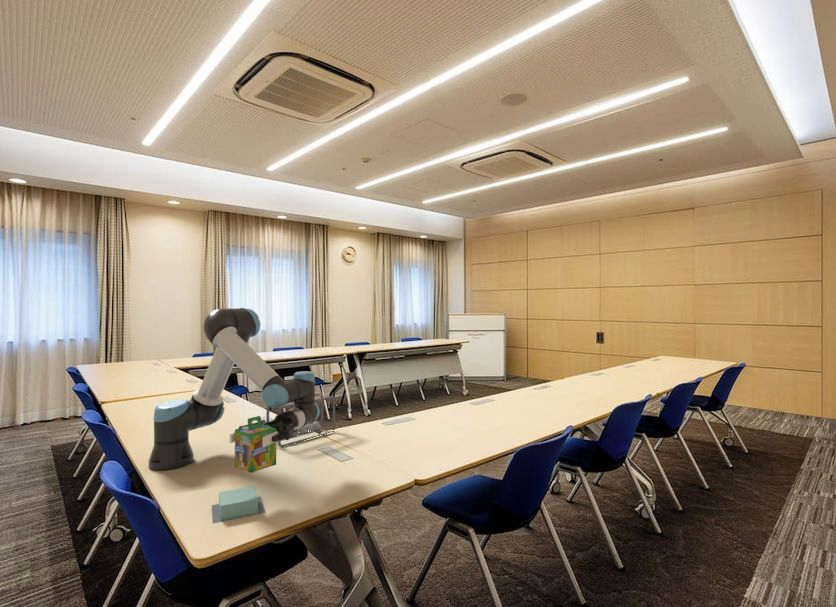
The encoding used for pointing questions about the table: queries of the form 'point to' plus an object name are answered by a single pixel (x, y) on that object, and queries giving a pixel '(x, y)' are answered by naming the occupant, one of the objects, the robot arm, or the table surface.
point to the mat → (217, 517)
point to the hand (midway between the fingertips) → (246, 440)
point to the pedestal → (238, 502)
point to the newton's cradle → (310, 427)
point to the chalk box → (254, 447)
